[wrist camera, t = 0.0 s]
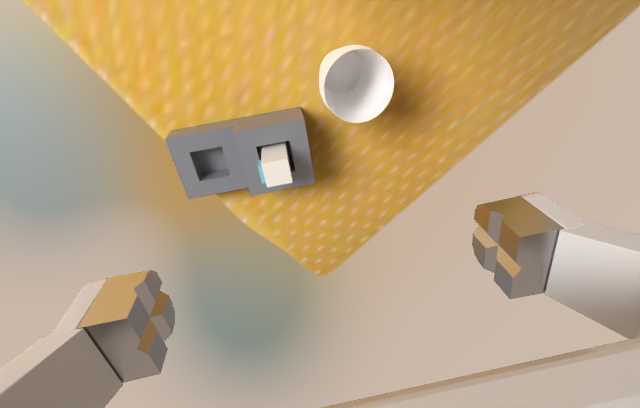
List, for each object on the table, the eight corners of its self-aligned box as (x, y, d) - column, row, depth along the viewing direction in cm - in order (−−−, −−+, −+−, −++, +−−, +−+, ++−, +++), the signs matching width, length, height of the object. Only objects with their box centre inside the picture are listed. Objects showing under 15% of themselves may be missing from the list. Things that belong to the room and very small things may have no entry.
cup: (333, 25, 50) (351, 30, 40) (382, 62, 53) (410, 75, 43) (299, 81, 53) (308, 100, 43) (347, 113, 56) (366, 137, 46)
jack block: (171, 130, 54) (159, 146, 48) (300, 106, 55) (304, 119, 49) (193, 189, 59) (184, 209, 53) (310, 166, 60) (315, 184, 54)
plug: (258, 141, 53) (256, 164, 46) (284, 136, 54) (287, 158, 46) (263, 162, 55) (262, 188, 47) (288, 157, 55) (292, 182, 48)
